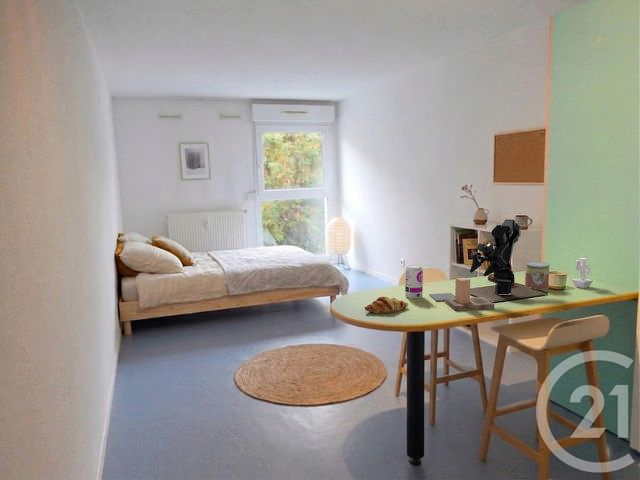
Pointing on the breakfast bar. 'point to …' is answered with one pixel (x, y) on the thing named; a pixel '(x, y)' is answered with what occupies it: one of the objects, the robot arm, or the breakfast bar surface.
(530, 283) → the canned food
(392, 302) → the croissant
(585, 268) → the figurine
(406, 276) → the supplement can
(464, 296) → the terracotta block
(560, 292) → the breakfast bar surface
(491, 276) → the sunglasses case
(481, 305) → the puzzle board
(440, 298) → the slate pad
